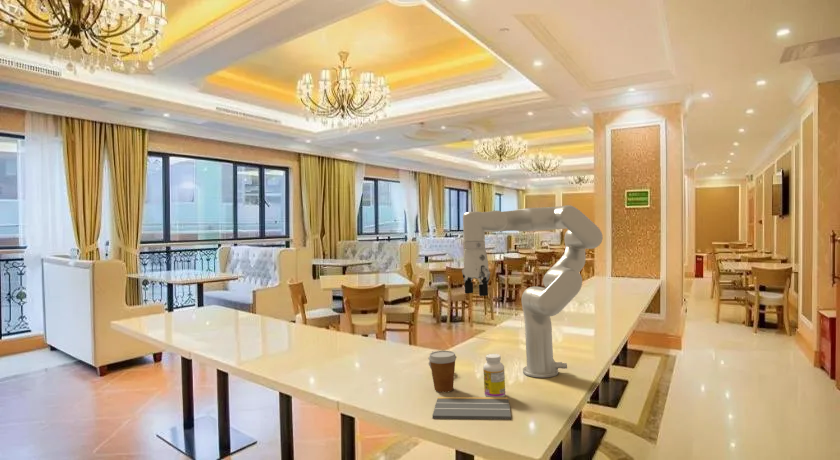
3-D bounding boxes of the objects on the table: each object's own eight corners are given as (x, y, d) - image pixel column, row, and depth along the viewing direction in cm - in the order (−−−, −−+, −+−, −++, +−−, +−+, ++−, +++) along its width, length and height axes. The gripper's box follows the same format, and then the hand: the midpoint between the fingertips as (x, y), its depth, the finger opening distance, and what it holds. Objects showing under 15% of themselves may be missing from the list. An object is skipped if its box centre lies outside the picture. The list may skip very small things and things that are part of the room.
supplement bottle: (483, 392, 148) (481, 353, 148) (503, 391, 147) (501, 352, 148) (485, 400, 141) (483, 358, 141) (507, 399, 141) (505, 358, 141)
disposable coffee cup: (449, 395, 146) (447, 358, 146) (424, 391, 151) (423, 355, 151) (462, 386, 154) (461, 351, 154) (438, 383, 159) (437, 349, 159)
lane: (508, 399, 140) (508, 396, 140) (510, 419, 125) (510, 416, 125) (438, 399, 143) (437, 396, 143) (432, 418, 128) (432, 415, 128)
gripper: (497, 246, 154) (498, 296, 154) (471, 246, 170) (472, 291, 170) (478, 246, 151) (480, 297, 151) (453, 246, 167) (455, 292, 167)
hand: (476, 294), depth 160 cm, fingers open, 9 cm apart
